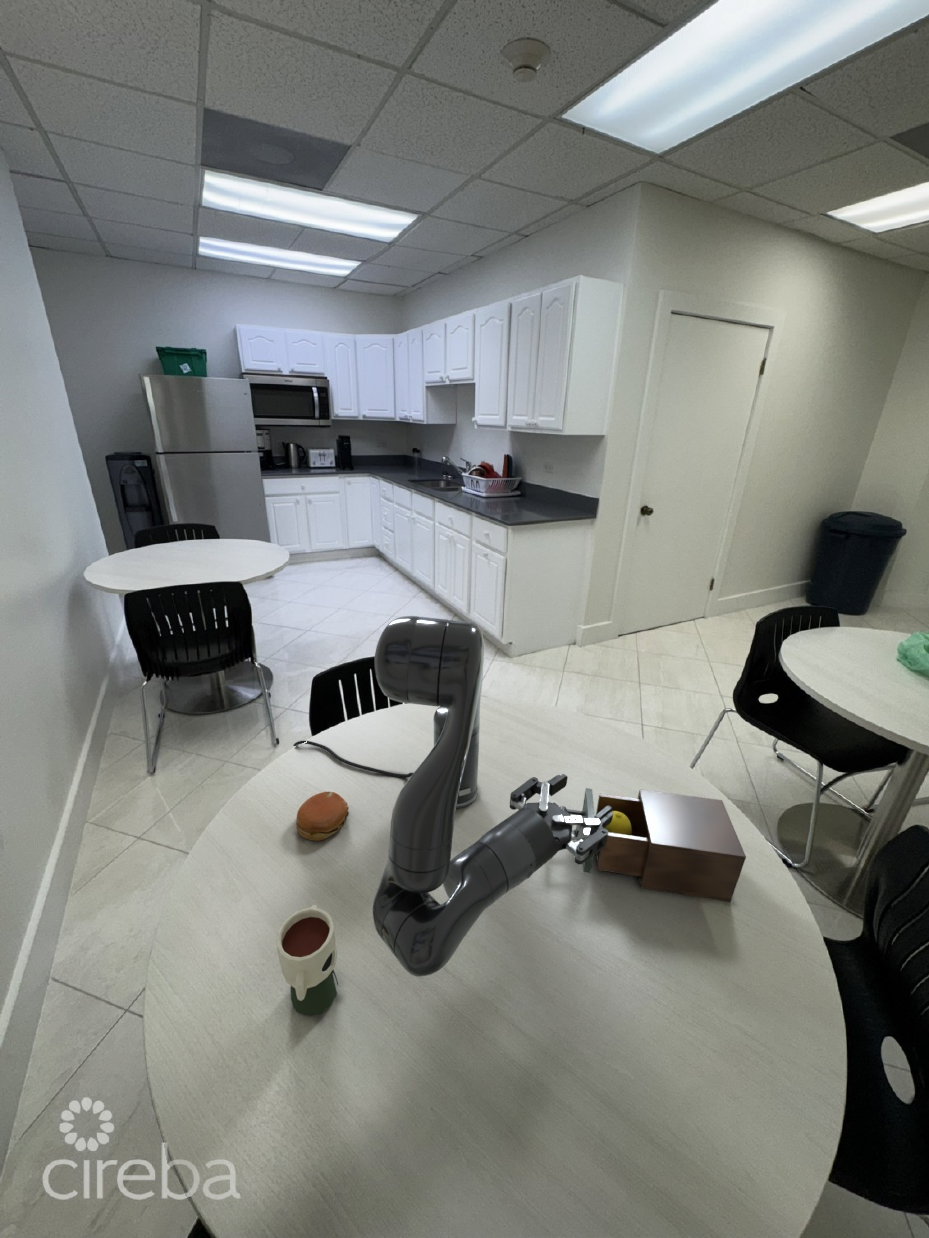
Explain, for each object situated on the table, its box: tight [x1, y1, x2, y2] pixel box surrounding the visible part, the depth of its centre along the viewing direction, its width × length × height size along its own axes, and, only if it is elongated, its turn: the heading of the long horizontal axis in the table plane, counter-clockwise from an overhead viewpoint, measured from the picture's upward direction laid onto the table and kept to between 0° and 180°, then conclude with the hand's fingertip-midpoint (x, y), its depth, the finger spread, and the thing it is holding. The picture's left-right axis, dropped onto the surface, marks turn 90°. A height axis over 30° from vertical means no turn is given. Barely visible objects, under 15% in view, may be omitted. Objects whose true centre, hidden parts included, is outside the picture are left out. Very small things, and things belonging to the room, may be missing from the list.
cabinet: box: [637, 788, 747, 903], centre depth 87 cm, size 15×13×11 cm
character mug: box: [276, 904, 339, 1017], centre depth 66 cm, size 11×7×13 cm, turn 5°
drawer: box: [559, 787, 650, 877], centre depth 89 cm, size 18×11×9 cm, turn 80°
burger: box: [295, 791, 350, 842], centre depth 96 cm, size 10×9×5 cm
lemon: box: [605, 811, 632, 835], centre depth 89 cm, size 6×6×8 cm
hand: (586, 794), depth 76 cm, fingers open, 8 cm apart
